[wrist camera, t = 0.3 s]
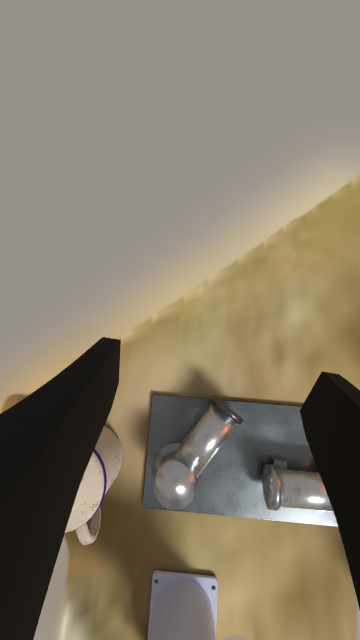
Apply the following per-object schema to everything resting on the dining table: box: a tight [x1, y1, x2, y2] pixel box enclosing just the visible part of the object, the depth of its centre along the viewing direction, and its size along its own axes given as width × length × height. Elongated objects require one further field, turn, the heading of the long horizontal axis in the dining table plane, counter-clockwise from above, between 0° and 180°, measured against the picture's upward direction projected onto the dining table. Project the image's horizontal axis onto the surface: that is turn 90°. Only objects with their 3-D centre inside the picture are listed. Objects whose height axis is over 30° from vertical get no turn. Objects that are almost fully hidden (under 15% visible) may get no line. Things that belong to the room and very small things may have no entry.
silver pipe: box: [154, 396, 244, 510], centre depth 32 cm, size 13×5×5 cm, turn 141°
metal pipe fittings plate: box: [143, 395, 338, 527], centre depth 32 cm, size 25×14×6 cm, turn 86°
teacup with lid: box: [65, 426, 123, 545], centre depth 30 cm, size 12×9×12 cm
